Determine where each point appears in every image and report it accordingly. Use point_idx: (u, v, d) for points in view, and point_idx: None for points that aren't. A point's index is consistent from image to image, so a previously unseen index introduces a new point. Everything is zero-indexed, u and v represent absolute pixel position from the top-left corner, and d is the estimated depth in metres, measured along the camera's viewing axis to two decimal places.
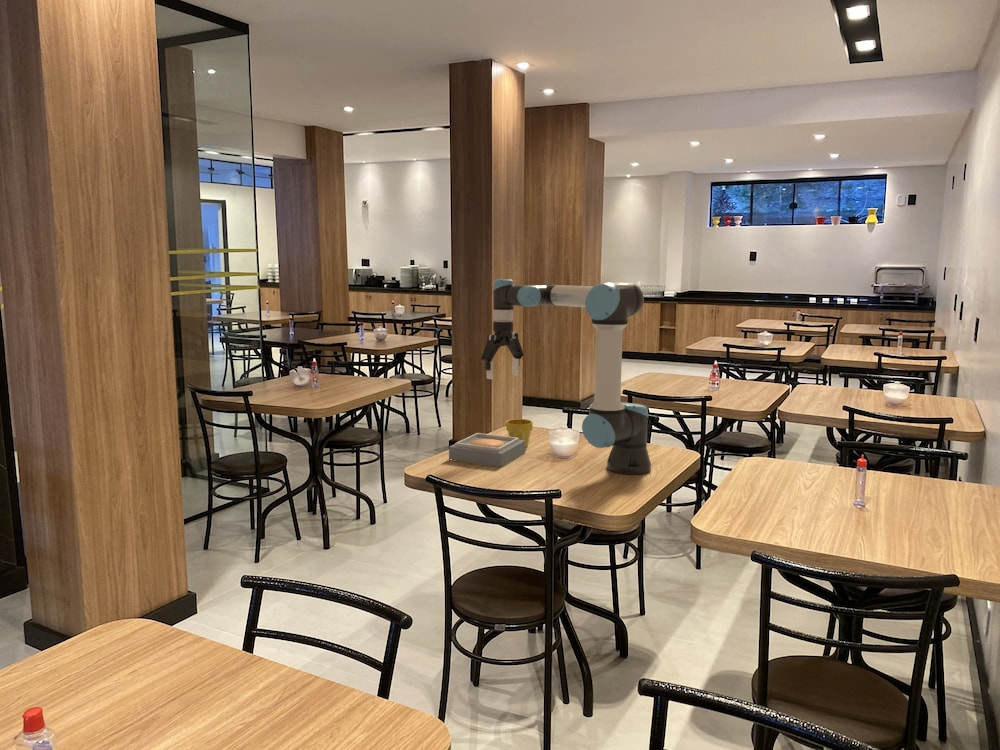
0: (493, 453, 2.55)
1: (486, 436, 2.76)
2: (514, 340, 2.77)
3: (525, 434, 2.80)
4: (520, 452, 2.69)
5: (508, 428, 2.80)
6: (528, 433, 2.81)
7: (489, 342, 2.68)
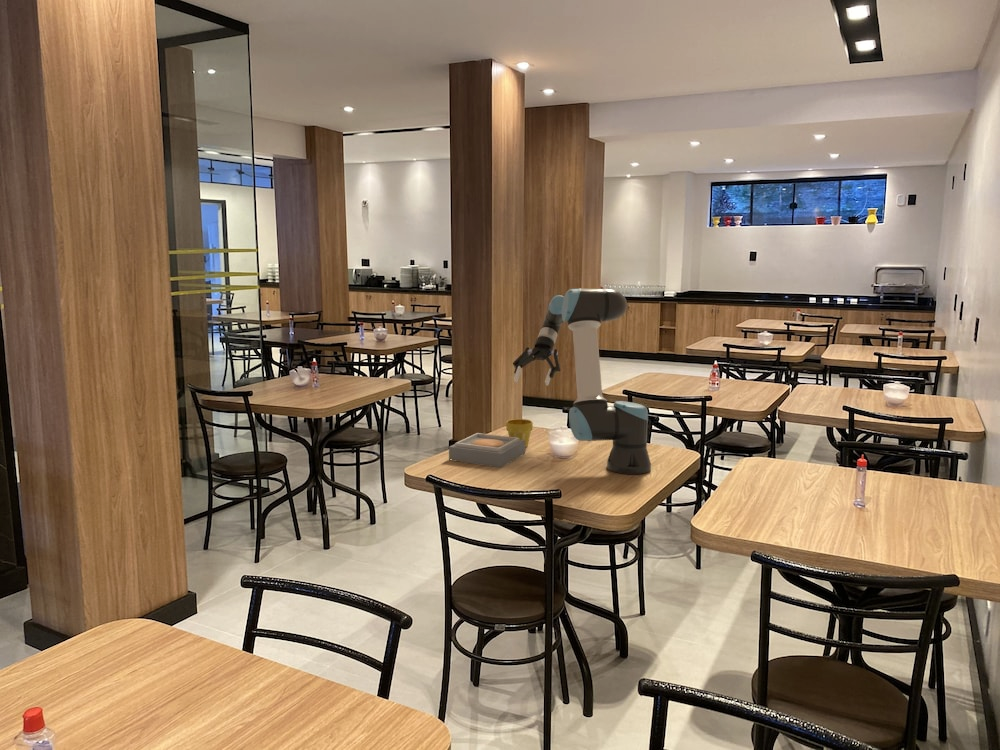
0: (493, 453, 2.55)
1: (486, 436, 2.76)
2: (554, 356, 2.94)
3: (525, 434, 2.80)
4: (520, 452, 2.69)
5: (508, 428, 2.80)
6: (528, 433, 2.81)
7: None
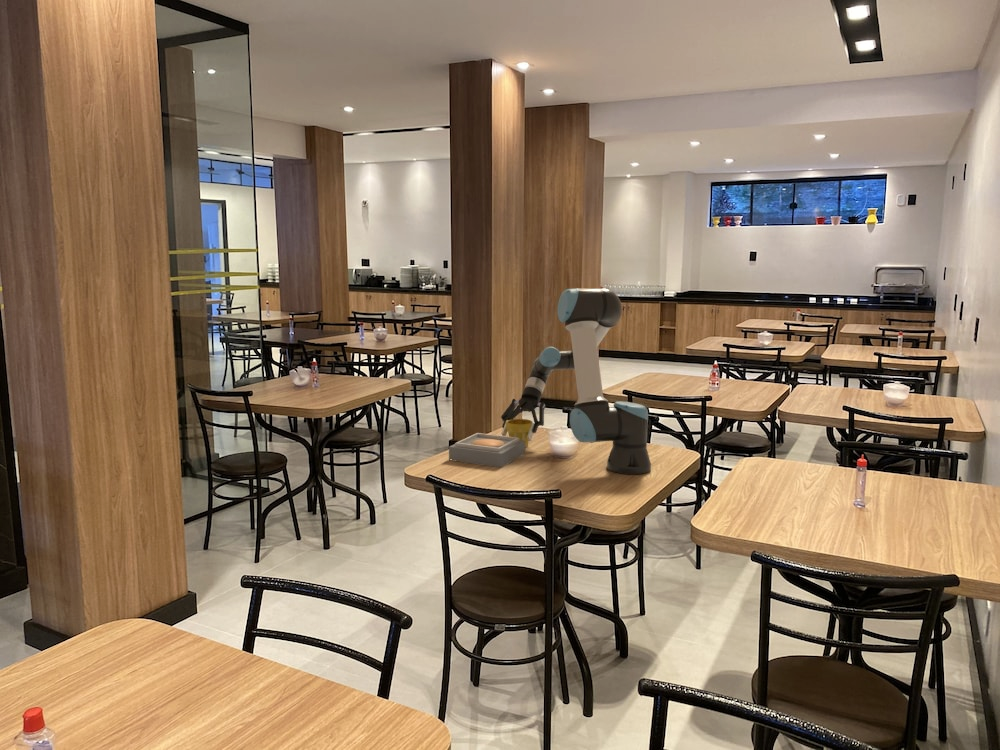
0: (493, 453, 2.55)
1: (486, 436, 2.76)
2: None
3: (525, 434, 2.80)
4: (520, 452, 2.69)
5: (508, 428, 2.80)
6: None
7: None
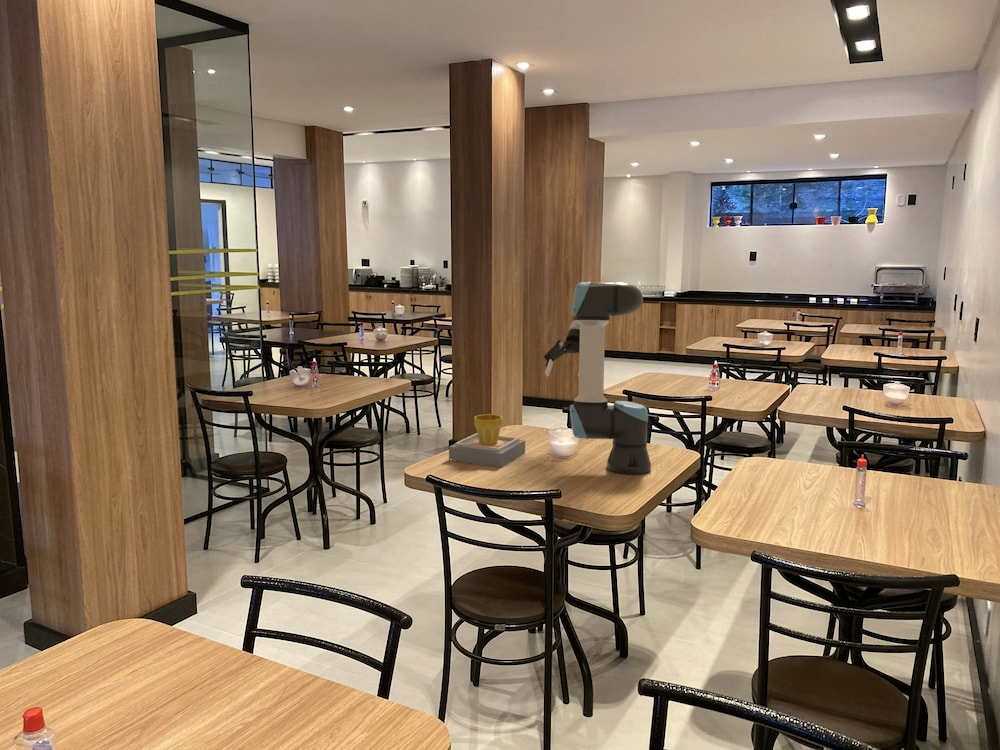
0: (493, 453, 2.55)
1: None
2: None
3: (494, 430, 2.63)
4: (520, 452, 2.69)
5: (476, 424, 2.63)
6: (497, 429, 2.64)
7: None
